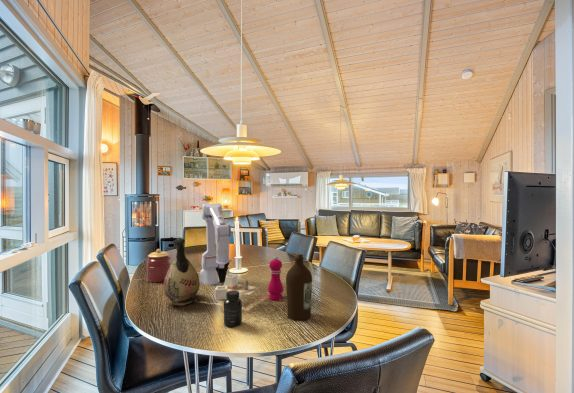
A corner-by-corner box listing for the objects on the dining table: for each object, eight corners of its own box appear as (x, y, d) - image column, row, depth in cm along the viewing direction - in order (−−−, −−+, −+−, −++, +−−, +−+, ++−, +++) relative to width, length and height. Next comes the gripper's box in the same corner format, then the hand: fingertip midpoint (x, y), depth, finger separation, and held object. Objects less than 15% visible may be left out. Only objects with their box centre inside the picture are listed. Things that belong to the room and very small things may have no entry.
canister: (159, 283, 162) (159, 251, 161) (140, 281, 166) (140, 250, 166) (175, 277, 174) (175, 247, 174) (157, 275, 178) (157, 246, 178)
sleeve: (215, 302, 133) (215, 289, 133) (216, 298, 138) (216, 286, 138) (226, 302, 134) (226, 289, 134) (227, 298, 139) (227, 285, 139)
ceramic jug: (163, 299, 138) (163, 235, 138) (197, 294, 144) (197, 233, 144) (163, 312, 123) (163, 240, 122) (202, 306, 129) (202, 238, 128)
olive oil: (281, 318, 117) (281, 255, 117) (293, 309, 126) (293, 250, 126) (305, 324, 112) (305, 258, 112) (316, 314, 121) (316, 253, 121)
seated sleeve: (223, 288, 149) (223, 276, 149) (229, 285, 154) (229, 273, 154) (232, 289, 147) (232, 277, 147) (237, 286, 152) (237, 274, 152)
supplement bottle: (224, 320, 115) (224, 289, 115) (242, 319, 116) (242, 289, 116) (222, 328, 108) (222, 295, 108) (241, 327, 109) (241, 295, 109)
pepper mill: (271, 302, 134) (271, 258, 134) (265, 297, 141) (265, 255, 141) (285, 299, 138) (286, 256, 138) (279, 294, 144) (279, 254, 144)
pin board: (213, 292, 147) (213, 280, 147) (227, 285, 159) (227, 274, 158) (249, 297, 140) (249, 285, 140) (260, 290, 151) (260, 278, 151)
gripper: (230, 253, 130) (230, 284, 130) (232, 247, 144) (232, 275, 144) (214, 254, 129) (214, 285, 129) (217, 248, 143) (217, 275, 143)
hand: (222, 280), depth 137 cm, fingers open, 7 cm apart
